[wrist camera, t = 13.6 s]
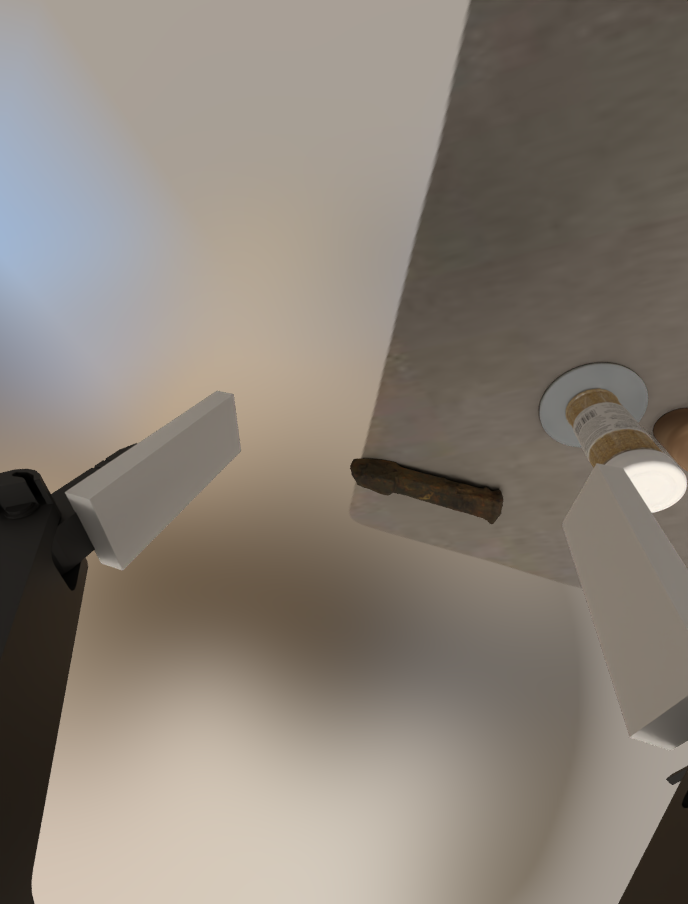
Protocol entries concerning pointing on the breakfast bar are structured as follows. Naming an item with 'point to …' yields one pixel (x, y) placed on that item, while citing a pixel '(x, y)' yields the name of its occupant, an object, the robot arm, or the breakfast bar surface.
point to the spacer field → (674, 435)
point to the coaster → (586, 378)
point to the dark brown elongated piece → (427, 488)
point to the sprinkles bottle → (625, 447)
